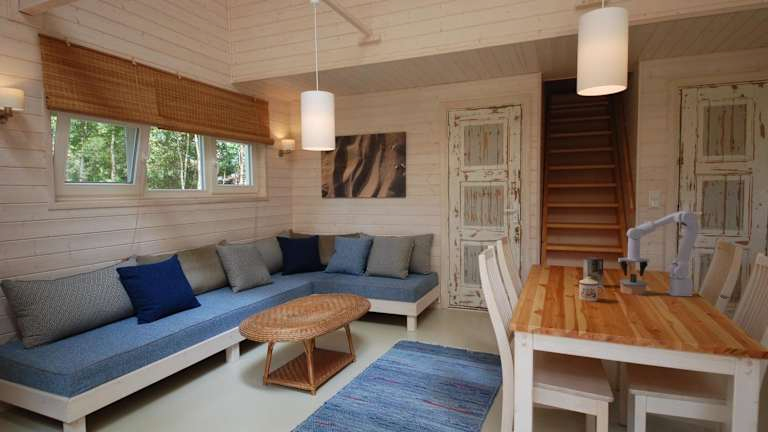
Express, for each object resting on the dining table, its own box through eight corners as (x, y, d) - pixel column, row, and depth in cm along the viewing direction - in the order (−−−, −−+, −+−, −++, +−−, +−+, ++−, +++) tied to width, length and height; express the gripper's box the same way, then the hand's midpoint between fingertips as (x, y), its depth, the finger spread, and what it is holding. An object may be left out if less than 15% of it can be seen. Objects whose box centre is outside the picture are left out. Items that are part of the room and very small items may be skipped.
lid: (641, 281, 239) (641, 272, 239) (651, 286, 226) (652, 277, 226) (615, 280, 241) (616, 271, 241) (624, 285, 228) (625, 276, 228)
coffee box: (598, 284, 254) (599, 257, 253) (603, 287, 247) (603, 259, 246) (582, 284, 255) (583, 257, 254) (586, 287, 248) (587, 259, 247)
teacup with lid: (578, 300, 219) (579, 277, 218) (578, 296, 227) (578, 274, 226) (605, 303, 214) (605, 279, 213) (604, 298, 222) (604, 276, 222)
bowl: (640, 290, 239) (640, 281, 238) (647, 295, 228) (648, 285, 228) (618, 289, 241) (618, 280, 241) (624, 294, 230) (625, 285, 230)
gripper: (621, 251, 231) (620, 276, 232) (651, 251, 227) (651, 277, 228) (617, 249, 238) (616, 274, 238) (646, 249, 234) (646, 274, 235)
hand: (633, 275), depth 234 cm, fingers open, 7 cm apart
